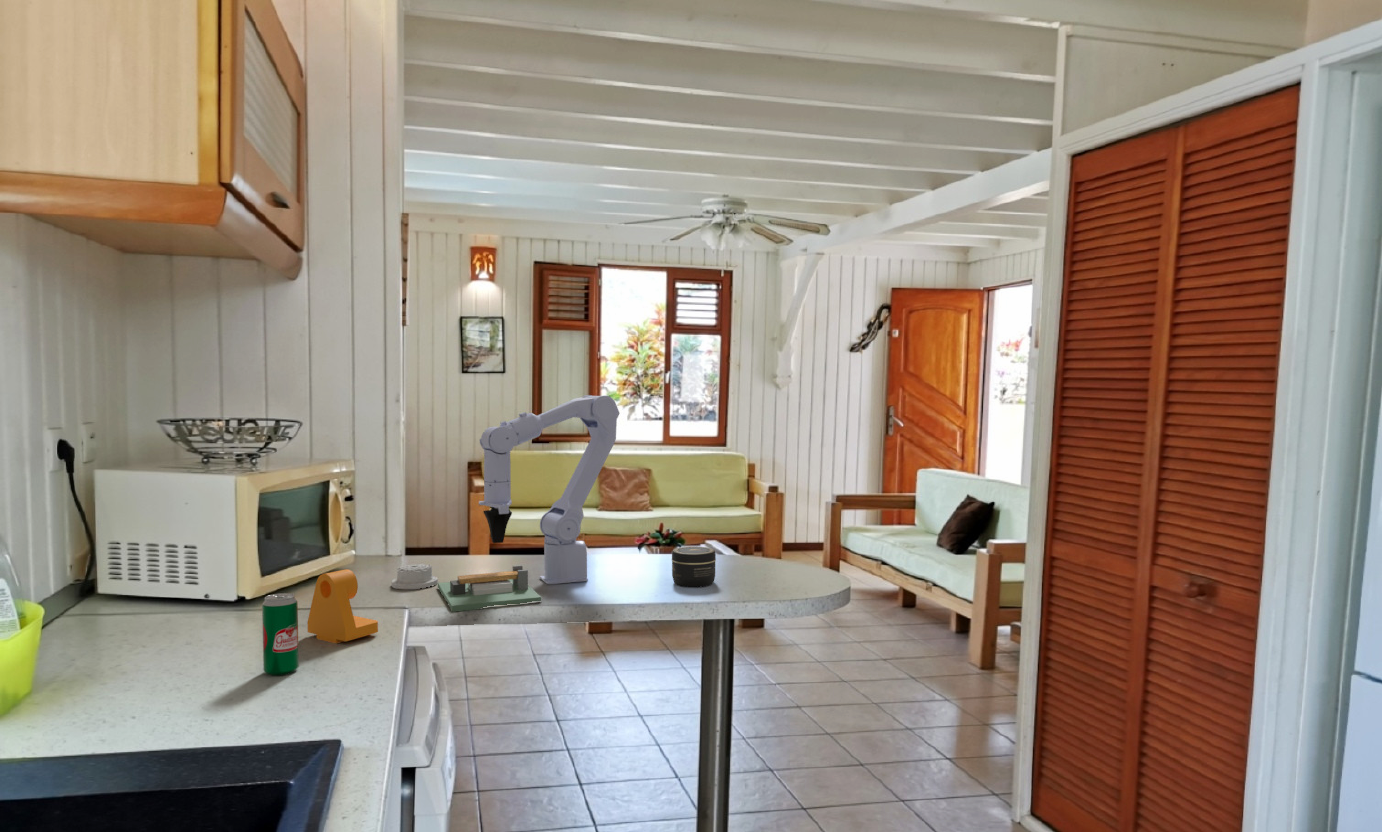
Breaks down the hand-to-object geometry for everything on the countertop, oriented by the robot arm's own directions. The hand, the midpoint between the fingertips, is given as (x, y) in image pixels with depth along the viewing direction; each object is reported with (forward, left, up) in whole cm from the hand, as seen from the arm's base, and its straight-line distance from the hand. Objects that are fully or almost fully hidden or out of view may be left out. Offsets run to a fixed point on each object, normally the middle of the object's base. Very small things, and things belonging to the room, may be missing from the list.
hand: (497, 542), depth 197 cm
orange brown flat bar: (+2, +5, -7) cm, 9 cm away
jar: (-42, +12, -11) cm, 45 cm away
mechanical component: (+17, -11, -11) cm, 23 cm away
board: (+3, +5, -10) cm, 12 cm away
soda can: (+42, +43, -11) cm, 62 cm away
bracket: (+32, +26, -11) cm, 43 cm away
